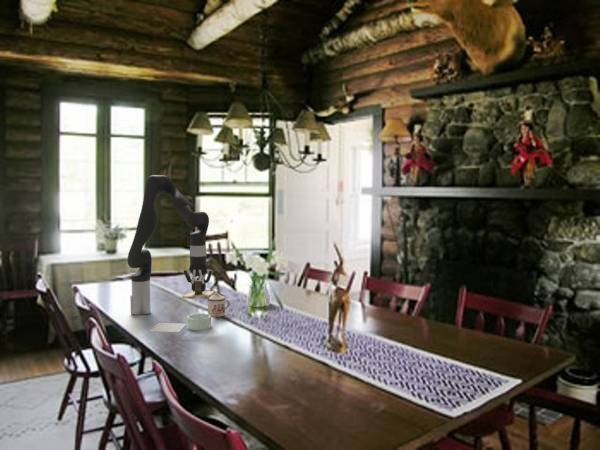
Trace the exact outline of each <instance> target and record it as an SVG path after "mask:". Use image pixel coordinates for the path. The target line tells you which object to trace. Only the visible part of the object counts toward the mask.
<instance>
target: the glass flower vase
mask: <svg viewBox="0 0 600 450" xmlns="http://www.w3.org/2000/svg"><path fill="white" fill-rule="evenodd" d="M251 283H252V282H250V283H248V286H249V289H248V292H247V295H246V305H247V306H248V307H250V306H249V303H250V289H251ZM268 290H269V289H268V287H267V283H266V282H265V299H266V304H267V306H266V307H269V306H270V304H271V303H270V302H271V299H270V293H269V291H268Z"/></svg>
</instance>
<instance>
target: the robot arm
mask: <svg viewBox="0 0 600 450" xmlns="http://www.w3.org/2000/svg"><path fill="white" fill-rule="evenodd" d="M145 182H146V183H145V187H144V195H143V200H142V206H141V210H140V213H139V218H138V221H137V225H136V230H135V233H134V237H133V239H132V243H131V246H130V249H129V252H128V253H127V264H128V266H129V268H131V269H138V268H139V269H138V271H136V272H135V273H133V274H132V275H131V295H130V315H136V316H139V315H140V316H141V315H142V316H143V315H148V314H150V313H151V312H152V311H151V307H152V306H151V303H152V302H151V276H152V275H151V274H152V254H151V252H150V250H149V249H147V248H144V249H143V247H144V246H145V244H146V242H148V241H149V240H150V238H152V236H153V235H154V233H155V232H156V230H157V226H158V222H159V215H158V212H157V209H156V206H155V201H156V197H157V195H167V196H168V197H170V198H171V203H172V204H171V205H172V207H173V208H174V209H175V210H176V211H177V212H178V213H179V214H180V215H181V216H182V218H183V219H184V222H185V223H186V225H187V226H189V227H190V228H196V230H195V231H194V232H192V233H190V236H189V240H190V241H189V242H190V244H189V245H190V246H189V268H187V269H184V270H183V273H184V276H185V279H186V281H187V283H190V285H191V291H193V292H195V281H196V280H197V277H200V280H201V281H202V284H201V291H202V292H204V291H206V284H207V283H208V282H210V281H211V277H212V274H213V273H214V270H213V269H209V268H208V267H207V245H206V244H207V243H206V242H207V241H206V236H207V232H208V228H209V225H210V218H209V215H208V213H207V212H205V211H196V208H195V206H194V205H193V204H192V203H191V202H190V201H189V200H188V199H187V198H186V197H185V196H184V195H183V194H182V193H181V192H180V190H179V189H178V187H177V186H176V185H175V184H174V182H173V180H172V179H171V178H170V177H168V176H167V175H164V174H163V175H162V174H157V175H156V174H155V175H154V174H153V175H150V176H148V177H147V179H146V181H145ZM190 273H191V274H192V276H191V275H190ZM206 273H207V277H205V276H206V275H205V274H206Z"/></svg>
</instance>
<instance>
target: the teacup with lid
mask: <svg viewBox="0 0 600 450" xmlns="http://www.w3.org/2000/svg"><path fill="white" fill-rule="evenodd" d="M206 300H207V314H209V315H211V318H212V317H213V318H215V317H216V318H219V317H224V316H225V315H226V310H227V309H228V308H230V305H231V304H230V300H228V299H226V297H225V296H224V295H221V294H219V292H214V294H213V295H212V296H211V297H210V298H209V299H206ZM226 302H227V305H226Z"/></svg>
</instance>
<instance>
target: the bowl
mask: <svg viewBox="0 0 600 450" xmlns="http://www.w3.org/2000/svg"><path fill="white" fill-rule="evenodd" d="M186 324H187V325H186V328H187V329H188V330H190V331H191V330H192V331H204V330H208V329H210V328H211V327H212V317H211V315H209V314H208V313H201V312H200V313H192V314H188V315H187V316H186Z"/></svg>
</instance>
